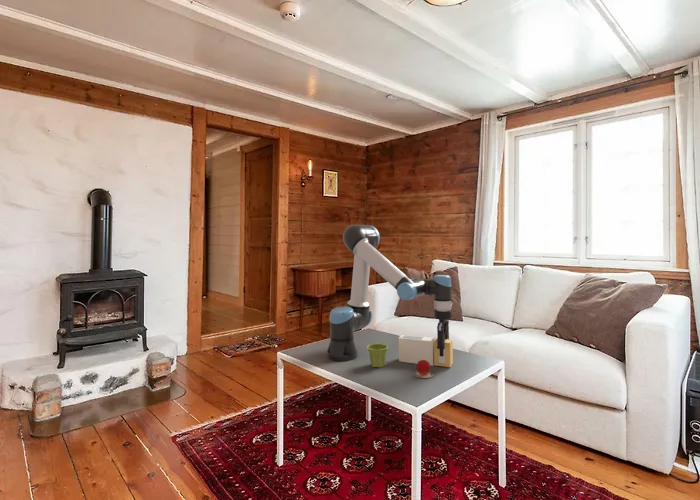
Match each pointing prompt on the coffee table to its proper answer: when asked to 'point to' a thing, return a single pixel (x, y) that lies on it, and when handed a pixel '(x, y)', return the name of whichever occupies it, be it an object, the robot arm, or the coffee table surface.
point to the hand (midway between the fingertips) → (443, 360)
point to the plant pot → (377, 354)
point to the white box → (416, 349)
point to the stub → (448, 353)
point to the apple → (423, 369)
